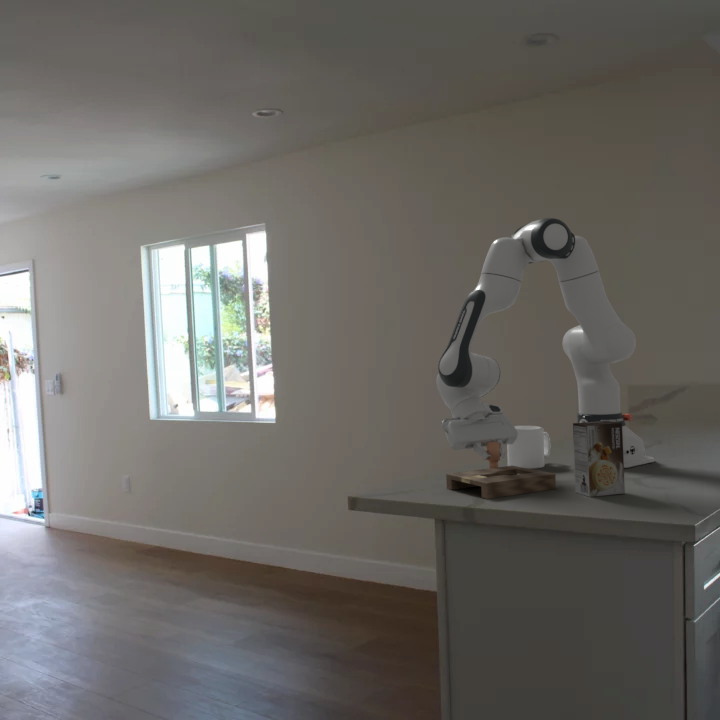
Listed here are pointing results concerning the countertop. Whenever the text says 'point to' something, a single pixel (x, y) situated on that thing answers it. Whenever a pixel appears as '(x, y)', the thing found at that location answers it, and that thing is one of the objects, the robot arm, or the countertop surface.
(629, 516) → the countertop surface
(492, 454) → the peg
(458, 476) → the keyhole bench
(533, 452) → the mug
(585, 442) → the coffee box
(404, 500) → the countertop surface
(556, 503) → the countertop surface
